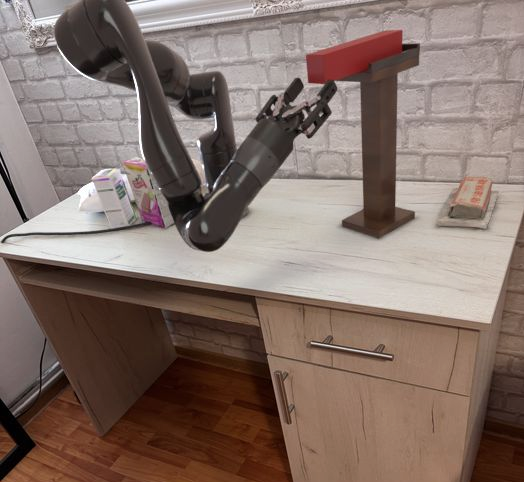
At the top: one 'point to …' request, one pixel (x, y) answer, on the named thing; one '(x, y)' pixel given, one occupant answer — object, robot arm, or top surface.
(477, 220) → the packaged product
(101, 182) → the syrup box
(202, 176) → the decorative ball
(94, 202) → the pouch
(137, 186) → the candy bar box
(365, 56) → the long red slab
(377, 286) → the top surface
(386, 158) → the wooden lectern
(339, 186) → the top surface
